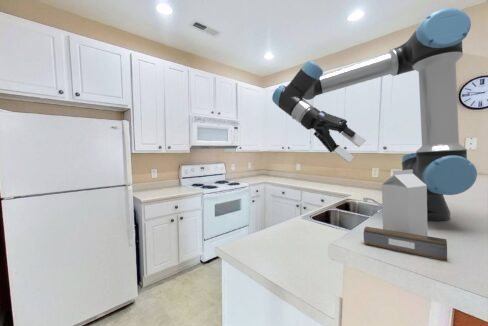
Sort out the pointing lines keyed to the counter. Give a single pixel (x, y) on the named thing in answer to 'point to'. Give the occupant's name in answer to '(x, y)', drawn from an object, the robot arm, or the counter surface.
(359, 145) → the robot arm
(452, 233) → the counter surface
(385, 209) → the milk carton
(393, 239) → the price rail
